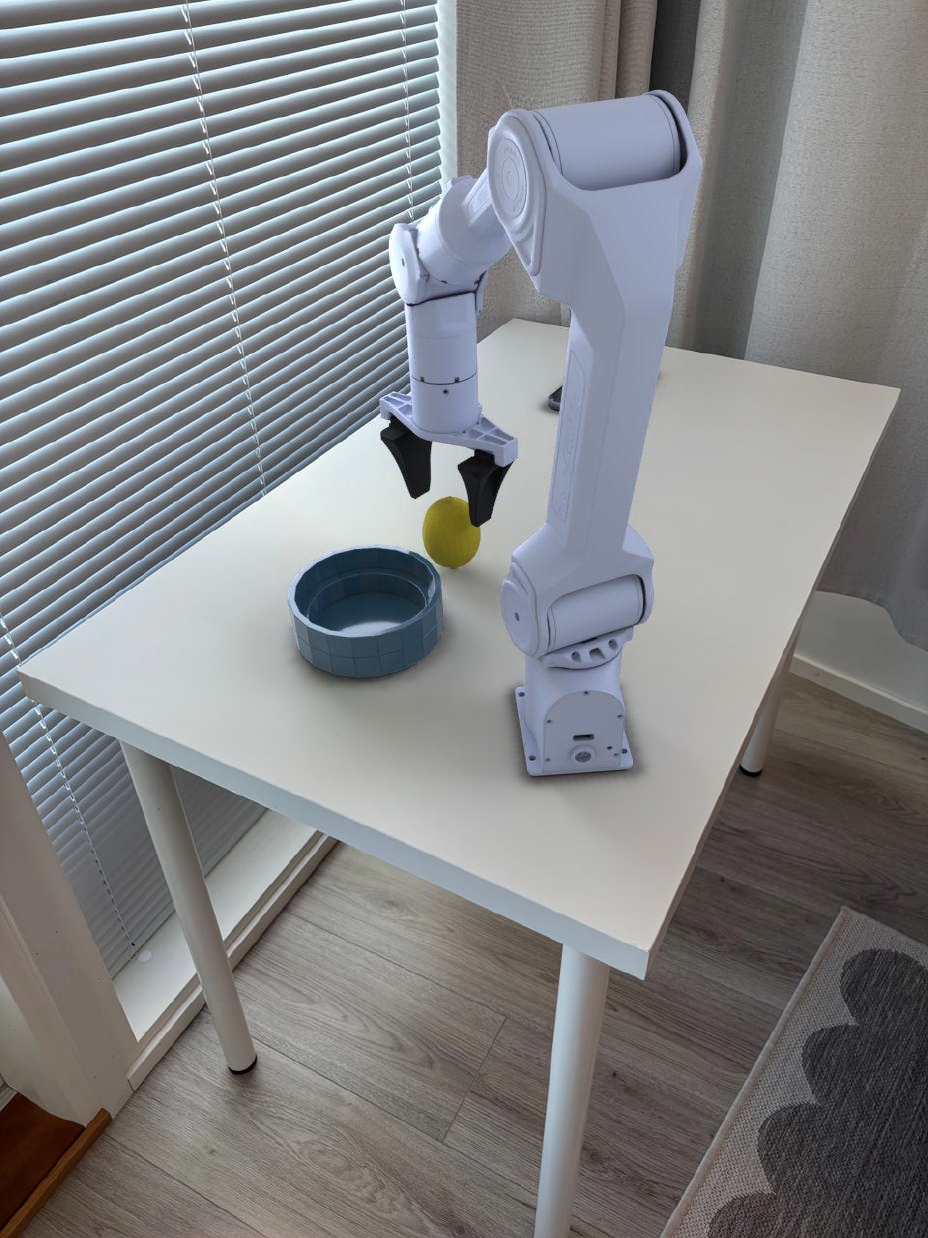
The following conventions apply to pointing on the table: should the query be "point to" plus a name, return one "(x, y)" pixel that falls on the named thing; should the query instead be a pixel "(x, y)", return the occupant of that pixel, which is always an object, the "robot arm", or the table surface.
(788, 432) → the table surface
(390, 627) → the bowl
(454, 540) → the lemon
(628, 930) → the table surface
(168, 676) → the table surface
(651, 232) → the robot arm
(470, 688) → the table surface
